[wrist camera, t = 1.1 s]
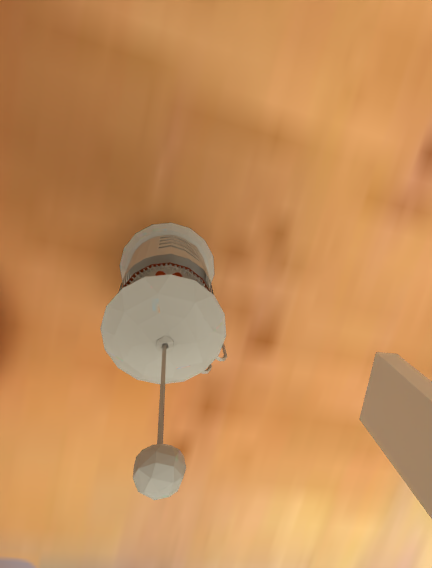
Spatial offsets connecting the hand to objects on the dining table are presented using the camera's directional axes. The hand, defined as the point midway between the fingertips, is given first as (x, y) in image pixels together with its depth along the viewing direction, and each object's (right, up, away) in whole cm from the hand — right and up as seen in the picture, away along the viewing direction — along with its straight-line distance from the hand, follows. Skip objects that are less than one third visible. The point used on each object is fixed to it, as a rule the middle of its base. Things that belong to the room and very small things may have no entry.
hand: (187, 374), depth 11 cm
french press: (-4, +4, +24) cm, 24 cm away
